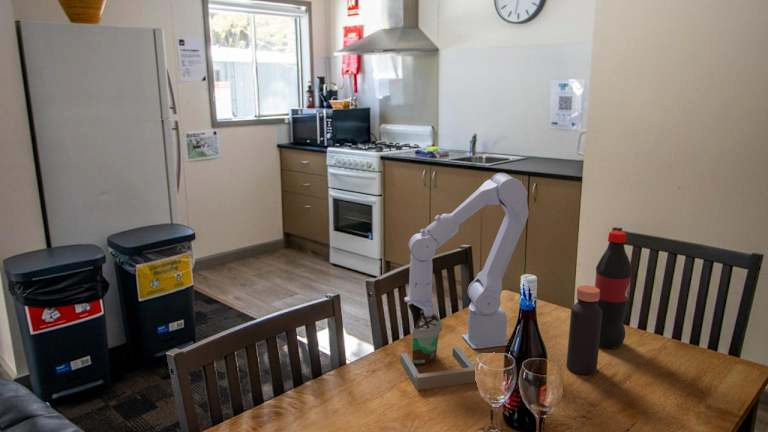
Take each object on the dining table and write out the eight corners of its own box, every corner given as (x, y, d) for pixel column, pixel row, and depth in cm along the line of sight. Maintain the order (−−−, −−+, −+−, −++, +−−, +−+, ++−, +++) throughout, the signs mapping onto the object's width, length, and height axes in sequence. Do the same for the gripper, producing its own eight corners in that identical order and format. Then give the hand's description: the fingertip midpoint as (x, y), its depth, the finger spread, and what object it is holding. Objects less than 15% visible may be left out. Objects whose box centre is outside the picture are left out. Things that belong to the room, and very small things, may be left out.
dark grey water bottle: (579, 378, 127) (587, 296, 122) (560, 364, 133) (566, 285, 128) (603, 372, 129) (611, 292, 125) (582, 359, 135) (590, 282, 131)
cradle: (458, 354, 138) (458, 342, 137) (480, 381, 125) (481, 369, 125) (400, 361, 134) (400, 349, 134) (417, 390, 122) (417, 377, 121)
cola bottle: (628, 342, 144) (641, 231, 137) (617, 354, 138) (629, 238, 131) (596, 333, 150) (606, 225, 143) (583, 344, 143) (594, 232, 137)
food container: (436, 372, 129) (439, 333, 127) (411, 368, 131) (412, 329, 128) (443, 347, 141) (445, 311, 139) (419, 344, 142) (421, 308, 140)
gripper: (397, 272, 145) (396, 320, 148) (414, 292, 132) (412, 345, 135) (423, 270, 147) (421, 318, 150) (442, 290, 133) (440, 342, 136)
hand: (419, 331), depth 143 cm, fingers closed
